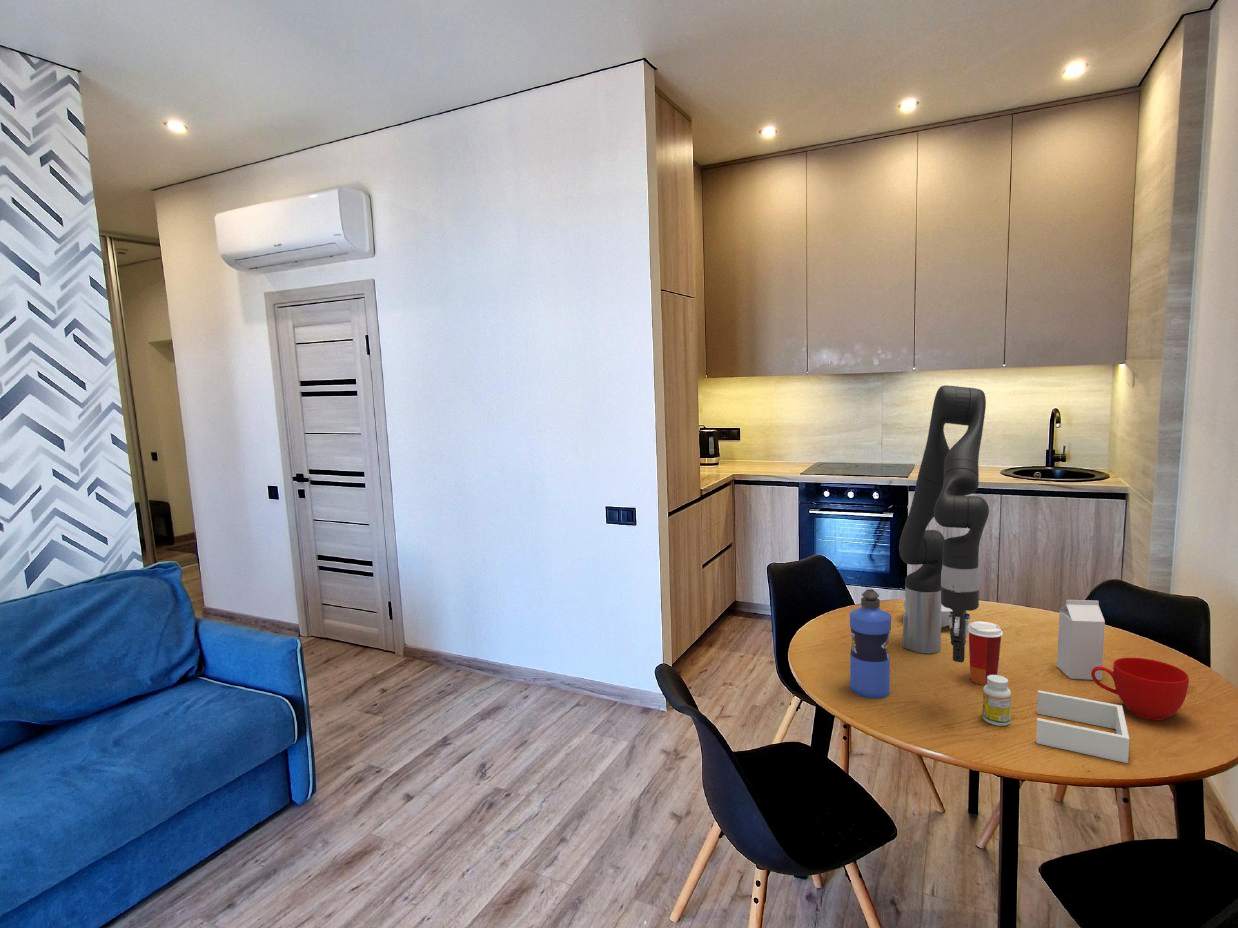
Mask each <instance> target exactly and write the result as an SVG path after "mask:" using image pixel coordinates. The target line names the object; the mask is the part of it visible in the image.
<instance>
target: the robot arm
mask: <svg viewBox="0 0 1238 928" xmlns="http://www.w3.org/2000/svg"><path fill="white" fill-rule="evenodd" d="M986 399H987V398H986V394H985V392H984V391H983V390H982V389H980V388H975V387H968V386H967V387H966V386H957V385H941V386H940V387H939V388H938V389H937V391H936V394H935V396H934V399H933V405H932V409H931V410H932V411H931V415H930V422H929V427H928V428H929V429H928V435H927V439H926V444H925V448H924V452H923V456H922V459H921V463H920V467H919V470H918V475H917V479H916V483H915V488H914V493H913V497H912V502H911V506H910V509H909V512H908V516H907V518H906V521H905V523H904V526H903V529H902V532H901V535H900V537H899V544H898V552H899V557H900V559H901V560H902V561H903V563H905V564H906V565H911V566H914V565H915V566H917V565H918V566H919V565H920V567H919V568H918V569H917V570H915V571H914V572H911V573H909V574H908V575H906V577H905V580H904V581H905V582H904V583H905V584H904V587H905V589H904V594H905V595H904V598H905V609H904V613H903V616H902V617H903V618H902V648H903V649H908V650H909V651H911V652H916V653H919V654H935V653H939V652H940V651H941V645H942V628H941V608H942V605H943V606H944V607H946V608H950V609H951V610H952V611H953V612H951V611H950V615H949V624H950V625H949V637H950V644H951V646H952V661H953V662H956V663H960V664H961V663H964V662H965V657H966V656H965V651H966V650H965V649H966V644H967V640H966V639H967V638H968V635H969V632H968V626H969V625H970V621H971V613H967V611H968V612H971V611H974V610H977V609H979V606H980V573H979V551H980V550H979V549H980V543H981V538H982V535H983V531H984V529H985V527H986V524H987V521H988V518H989V514H990V513H989V512H990V506H989V504H988V502H987V501H986V499H984V498H983V497H982V496H977V495H971V494H974V493H976V491H977V490H978V489H979V484H980V483H979V482H980V481H979V475H980V473H979V471H980V470H979V459H980V458H979V457H980V455H979V454H980V449H981V443H982V437H983V431H984V423H985V417H986V416H985V415H986V409H987V408H986V407H987V400H986ZM946 424H950V425H956V426H957V425H959V426H966V427H967V429H966V431H965V433H964V434H963V436H962V437H961V438H960V439H958V441H957V442H955V444H953V445H952V446H951V448H950V447H949V444H948V442H947V439H946V436H945V432H944V431H945V428H944V427H945V425H946ZM933 519H935V522H936V523H937V524H938V525H939V526H941V527H943V528H955V529H956V528H957V529H969V530H968V532H966V533H965V534H963V535H958V536H951V537H948V538H945V536H944V535H943V533H942V532H941V531H939V530H937V529H927V527H928V526H929V523H931V521H932V520H933Z"/></svg>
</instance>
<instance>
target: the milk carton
mask: <svg viewBox="0 0 1238 928" xmlns="http://www.w3.org/2000/svg"><path fill="white" fill-rule="evenodd" d="M1099 602H1100V601H1099V600H1092V599H1091V600H1089V599H1087V600H1083V599H1081V600H1080V599H1065V603H1064V605H1063V606H1062V608H1060V609H1059V610H1058V611H1059V615H1058V633H1057V636H1058V638H1057V658H1056V659H1057V660H1056V666H1057V668H1058V669H1059V670H1060V671H1061V672H1062V673H1063V674H1064V675H1065V676H1067V678H1068V679H1070V680H1090V681H1091V680H1093V678H1092V676H1091V671H1092V669H1093V668H1094V667H1097V666H1101V667H1104V666H1103V665H1104V663H1103V661H1104V660H1103V659H1104V645H1105V644H1104V643H1105V624H1106V621H1105V618H1104V616H1103V615H1104V614H1103V613H1102V611H1101V608H1100V605H1099V604H1100V603H1099ZM1095 677H1096V679H1097V680H1098V681H1102V679H1103V670H1098V671H1096V672H1095ZM1093 681H1094V680H1093Z"/></svg>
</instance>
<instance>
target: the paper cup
mask: <svg viewBox="0 0 1238 928" xmlns="http://www.w3.org/2000/svg"><path fill="white" fill-rule="evenodd" d="M1003 634H1004V633H1003V631H1002V629H1001V627H1000V626H999V625H998V624H997V623H992V622H989V621H981V620H980V621H979V620H978V621H973V622H969V625H968V650H969V651H968V652H969V672H970V674H969V675H970V680H971V681H972V682H973V683H974V684H977V685H981V686H985V685H987V676H989V675H998V672H999V671H998V670H999V663H1000V661H999V660H1000V652H1001V641H1002V636H1003Z"/></svg>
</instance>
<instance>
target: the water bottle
mask: <svg viewBox="0 0 1238 928" xmlns="http://www.w3.org/2000/svg"><path fill="white" fill-rule="evenodd" d="M861 596H862V597H861V598H860V605H861V606H860V607H857V608H856V609H855V608H854V609H852V610H851V611H850V612H849V628H850V634H851V648H850V653H849V689H850V692H852V693H853V694H855V695H856V696H859V697H862V698H865V699H874V700H875V699H883V698H887V697H888V696H890V693H891V691H890V690H891V688H890V687H891V685H890V684H891V681H890V680H891V678H890V677H891V657H890V656H891V655H890V649H889V642H890V634H891V630H892V615H891V613H888V612H887V611H885V610H883V609H881V608H880V606H881V603H880V602H881V600H880V598H879V597H880V595H879V593H878V592H877V591H875V589H870V588H869V589H866V590H865V591H863V593H861Z"/></svg>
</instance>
